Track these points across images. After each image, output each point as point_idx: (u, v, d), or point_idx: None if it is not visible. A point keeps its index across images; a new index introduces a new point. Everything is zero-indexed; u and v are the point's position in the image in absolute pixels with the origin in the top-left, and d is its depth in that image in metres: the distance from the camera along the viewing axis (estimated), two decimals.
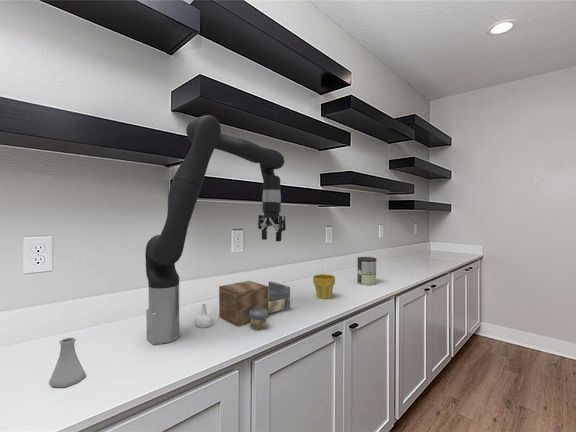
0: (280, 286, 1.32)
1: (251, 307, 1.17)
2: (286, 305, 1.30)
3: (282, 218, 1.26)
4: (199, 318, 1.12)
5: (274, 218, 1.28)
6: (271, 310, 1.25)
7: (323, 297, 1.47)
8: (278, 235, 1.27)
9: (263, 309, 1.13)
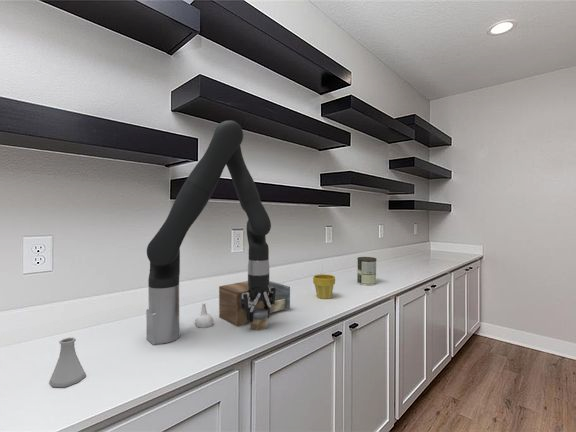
0: (280, 286, 1.32)
1: None
2: (286, 305, 1.30)
3: None
4: (199, 318, 1.12)
5: (267, 292, 1.13)
6: (271, 310, 1.25)
7: (323, 297, 1.47)
8: (269, 310, 1.14)
9: (263, 309, 1.13)
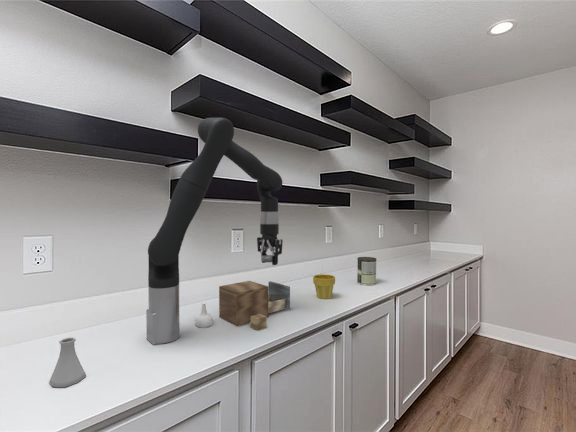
0: (280, 286, 1.32)
1: (251, 307, 1.17)
2: (286, 305, 1.30)
3: None
4: (199, 318, 1.12)
5: None
6: (271, 310, 1.25)
7: (323, 297, 1.47)
8: None
9: (266, 255, 1.31)
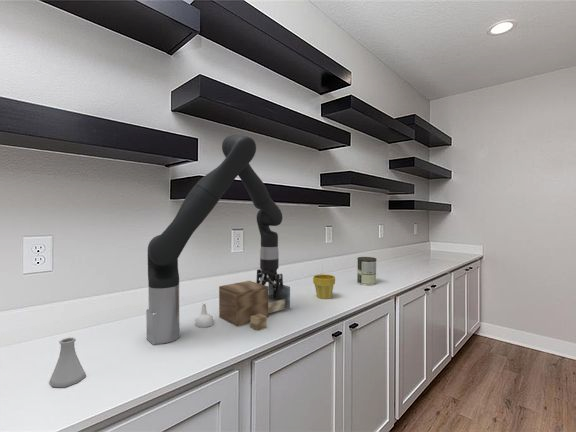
0: None
1: (251, 307, 1.17)
2: (286, 305, 1.30)
3: None
4: (199, 318, 1.12)
5: None
6: (271, 310, 1.25)
7: (323, 297, 1.47)
8: None
9: None
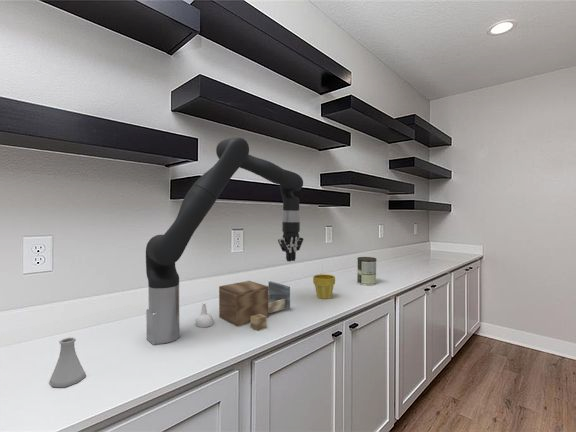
0: (280, 286, 1.32)
1: (251, 307, 1.17)
2: (286, 305, 1.30)
3: None
4: (199, 318, 1.12)
5: (297, 239, 1.39)
6: (271, 310, 1.25)
7: (323, 297, 1.47)
8: (294, 255, 1.39)
9: None
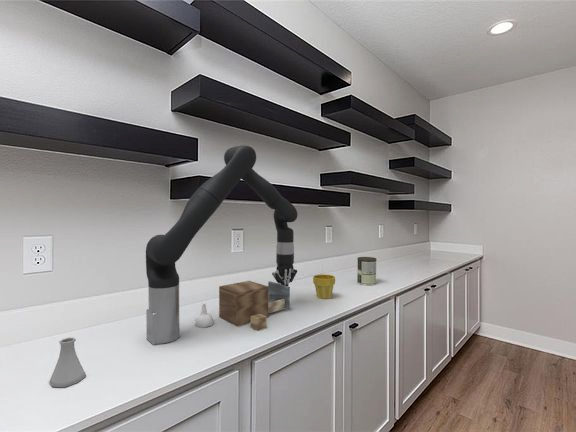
0: (280, 286, 1.32)
1: (251, 307, 1.17)
2: (285, 305, 1.30)
3: None
4: (199, 318, 1.12)
5: (291, 271, 1.37)
6: (270, 310, 1.24)
7: (323, 297, 1.47)
8: None
9: None
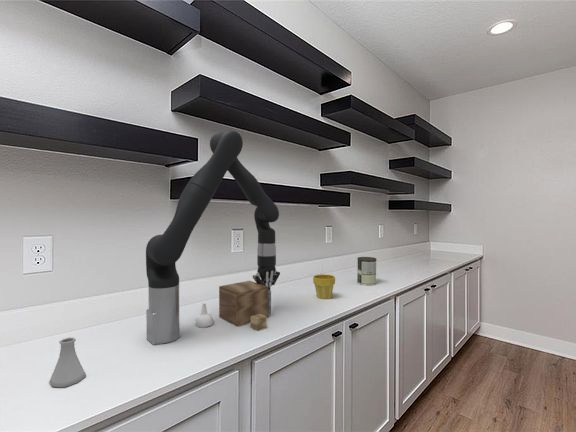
0: None
1: (251, 307, 1.17)
2: None
3: None
4: (199, 318, 1.13)
5: (273, 273, 1.30)
6: None
7: (323, 297, 1.47)
8: None
9: None
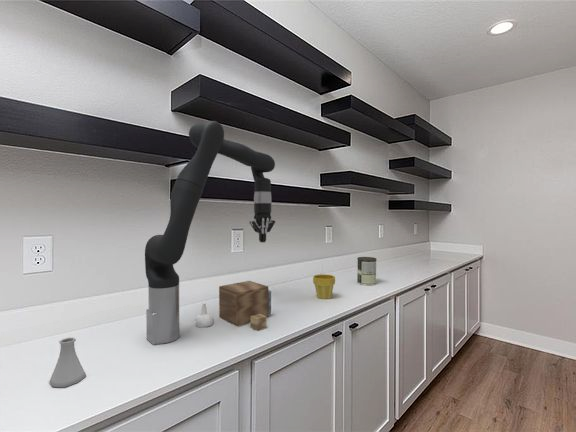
0: None
1: (251, 307, 1.17)
2: None
3: None
4: (199, 318, 1.13)
5: (269, 221, 1.39)
6: None
7: (323, 297, 1.47)
8: (265, 236, 1.39)
9: None
